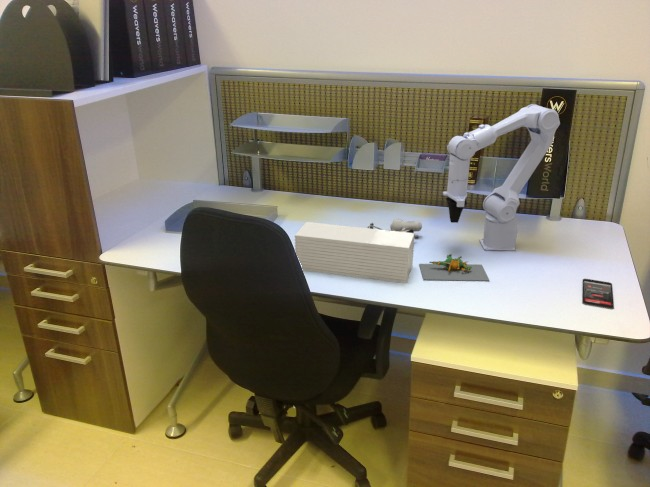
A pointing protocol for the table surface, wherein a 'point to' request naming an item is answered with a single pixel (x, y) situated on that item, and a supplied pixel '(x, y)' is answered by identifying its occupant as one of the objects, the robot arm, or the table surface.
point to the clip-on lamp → (403, 226)
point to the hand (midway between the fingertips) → (454, 221)
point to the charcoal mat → (453, 273)
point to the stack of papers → (355, 251)
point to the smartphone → (597, 294)
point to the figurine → (453, 263)
